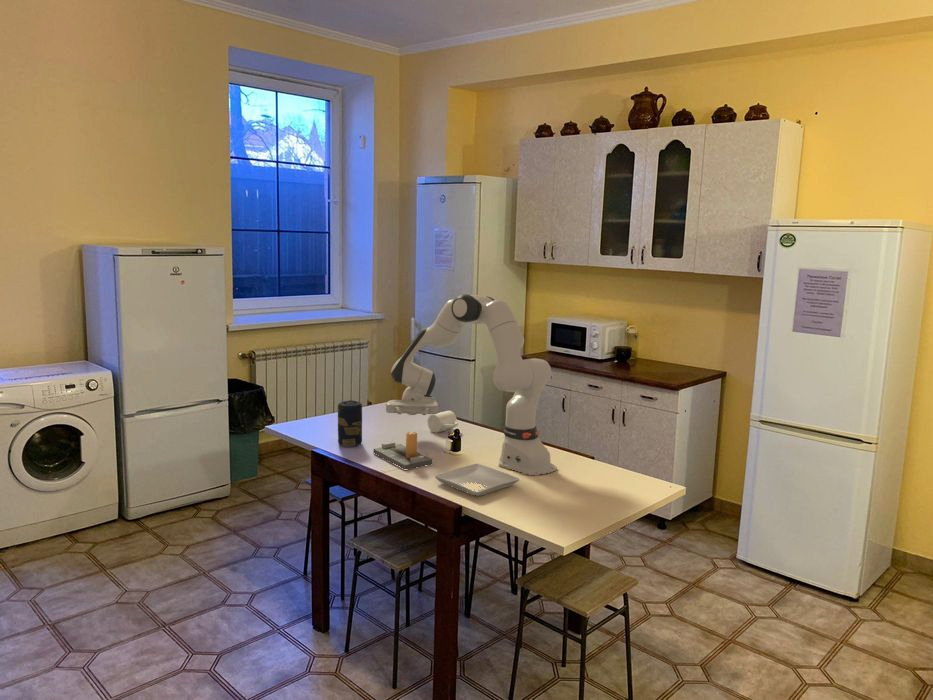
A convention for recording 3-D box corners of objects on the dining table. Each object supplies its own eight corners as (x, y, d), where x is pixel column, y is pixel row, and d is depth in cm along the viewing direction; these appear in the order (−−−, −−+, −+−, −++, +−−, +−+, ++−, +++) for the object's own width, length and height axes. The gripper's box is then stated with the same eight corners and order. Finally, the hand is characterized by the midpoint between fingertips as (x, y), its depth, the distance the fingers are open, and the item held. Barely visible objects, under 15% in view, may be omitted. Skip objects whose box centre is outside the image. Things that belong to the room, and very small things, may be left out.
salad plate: (476, 470, 257) (476, 461, 256) (520, 487, 242) (521, 477, 242) (432, 484, 242) (432, 474, 242) (476, 502, 228) (477, 492, 227)
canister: (363, 447, 278) (363, 403, 275) (338, 448, 276) (338, 403, 273) (360, 440, 287) (361, 397, 284) (336, 441, 285) (336, 397, 282)
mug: (427, 430, 304) (427, 412, 303) (443, 426, 311) (444, 408, 310) (446, 437, 296) (447, 418, 294) (463, 432, 303) (464, 414, 302)
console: (432, 464, 261) (432, 455, 260) (404, 470, 254) (404, 461, 253) (400, 448, 278) (400, 440, 278) (373, 453, 271) (373, 445, 270)
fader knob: (418, 457, 261) (419, 433, 259) (409, 459, 258) (410, 434, 257) (412, 454, 264) (413, 430, 262) (403, 456, 261) (404, 432, 260)
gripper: (386, 394, 283) (384, 403, 269) (437, 396, 284) (438, 405, 271) (386, 410, 284) (384, 420, 271) (437, 411, 286) (438, 421, 272)
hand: (411, 412), depth 271 cm, fingers open, 8 cm apart
